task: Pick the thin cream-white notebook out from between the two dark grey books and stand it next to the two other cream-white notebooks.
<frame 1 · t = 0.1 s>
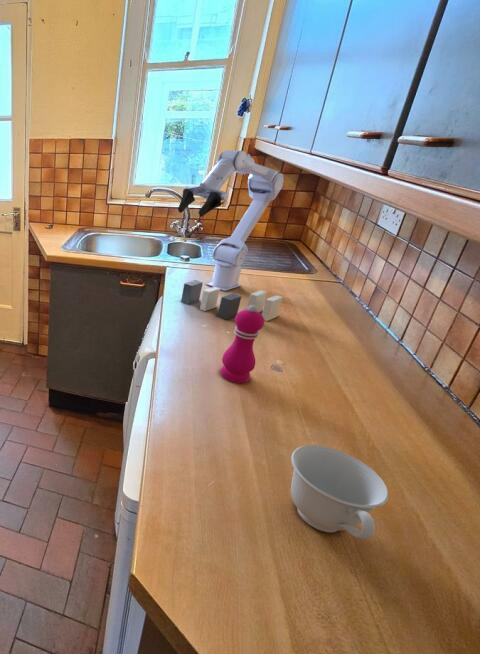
hand: (189, 212, 130), 32 cm above the worktop, tool tilted 50°, fingers open, 7 cm apart
grey book b: (190, 301, 145), on the worktop
white book 2: (253, 312, 136), on the worktop
white thin book: (207, 308, 139), on the worktop
pepper mill: (234, 376, 103), on the worktop
white book 1: (268, 317, 132), on the worktop
grey book a: (227, 315, 134), on the worktop
teacup: (322, 525, 66), on the worktop
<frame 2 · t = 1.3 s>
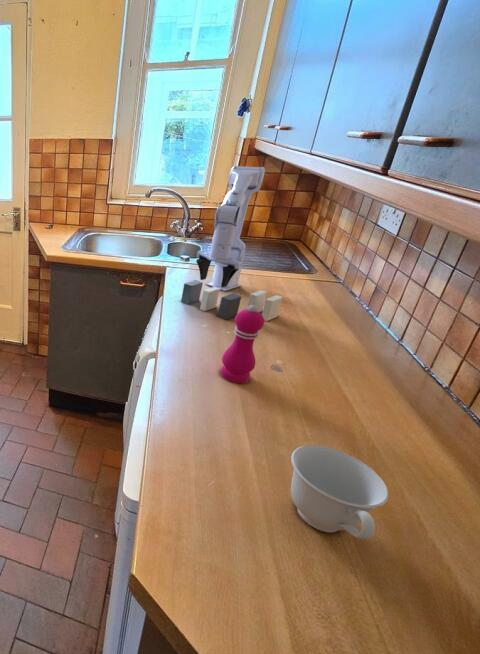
hand: (213, 282, 135), 9 cm above the worktop, tool pointing down, fingers open, 7 cm apart
nothing on the worktop moved.
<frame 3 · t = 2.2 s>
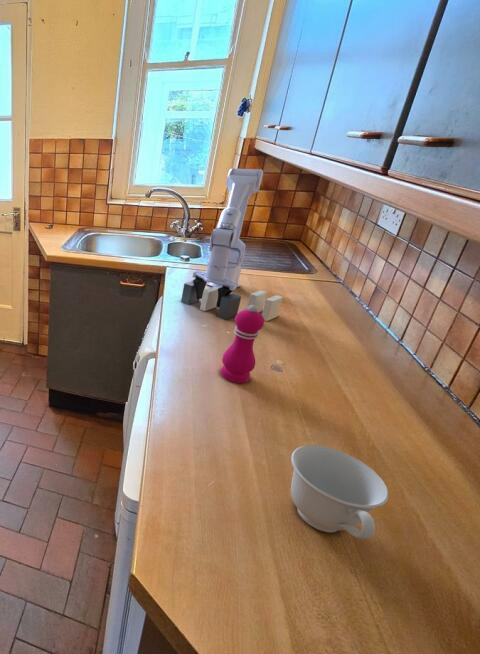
hand: (208, 302, 138), 2 cm above the worktop, tool pointing down, fingers open, 7 cm apart
grey book b: (190, 301, 145), on the worktop, touching gripper
grey book a: (227, 315, 134), on the worktop, touching gripper
everything else where it was.
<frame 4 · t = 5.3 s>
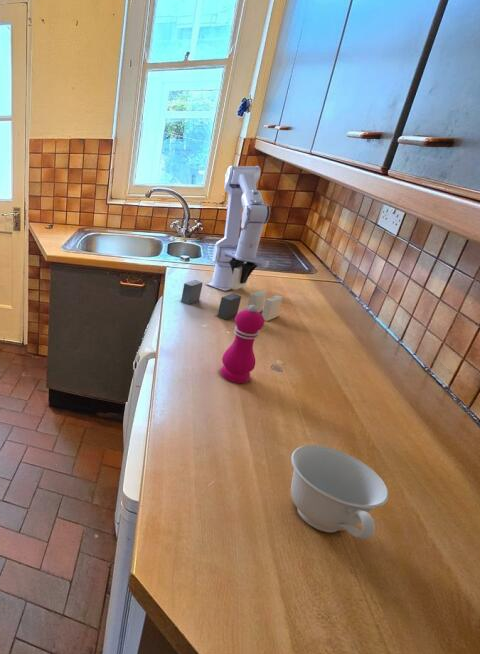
hand: (239, 281, 136), 9 cm above the worktop, tool pointing down, fingers closed on white thin book
grey book b: (190, 301, 145), on the worktop
white thin book: (237, 286, 137), point 7 cm above the worktop, touching gripper
grey book a: (227, 315, 134), on the worktop
everything else where it was.
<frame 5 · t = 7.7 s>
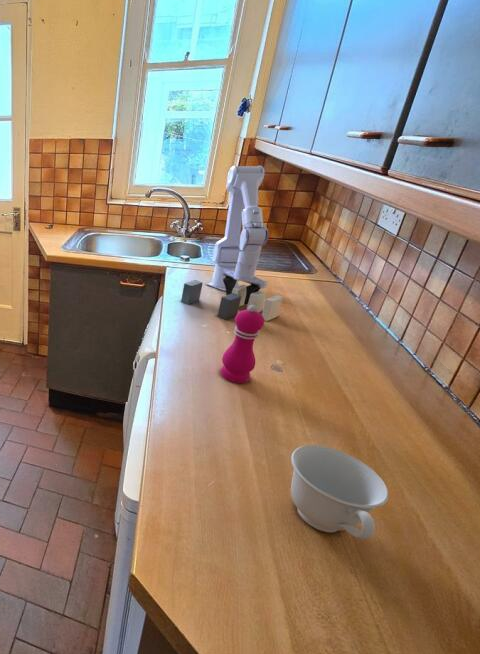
hand: (237, 300, 140), 2 cm above the worktop, tool pointing down, fingers open, 6 cm apart
white book 2: (253, 312, 136), on the worktop, touching gripper
white thin book: (236, 305, 140), on the worktop
everything else where it was.
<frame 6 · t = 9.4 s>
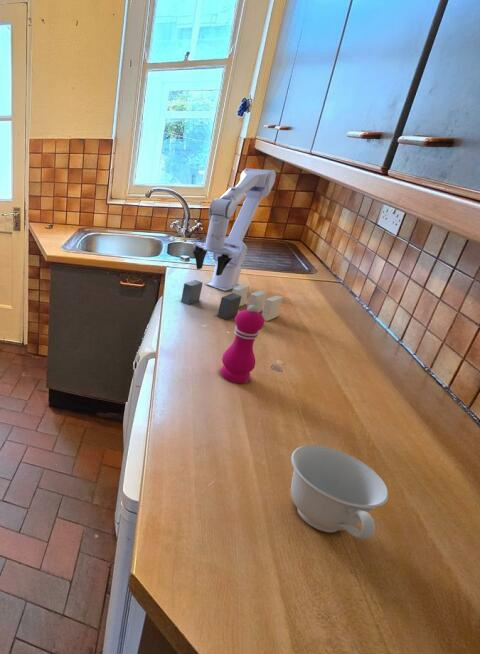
hand: (208, 271, 144), 9 cm above the worktop, tool pointing down, fingers open, 7 cm apart
white book 2: (253, 312, 136), on the worktop
everything else where it was.
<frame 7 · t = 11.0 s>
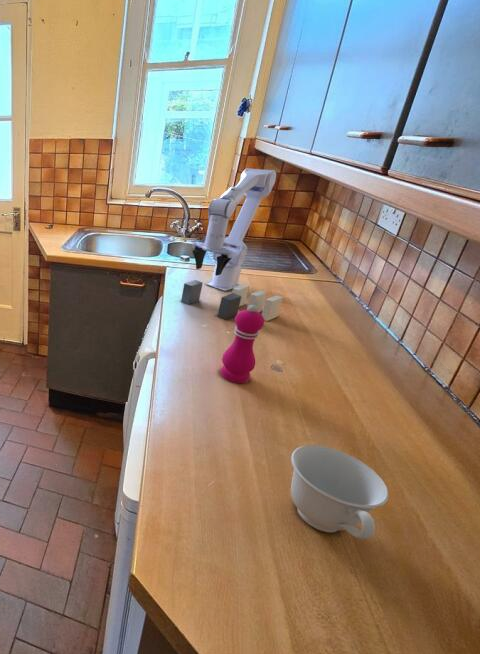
hand: (208, 271, 145), 9 cm above the worktop, tool pointing down, fingers open, 7 cm apart
nothing on the worktop moved.
at the end: white thin book 0.2 cm from the target spot, on the worktop; white thin book 6.0 cm from the white book 2 (horizontally); white thin book tilted 0° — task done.
